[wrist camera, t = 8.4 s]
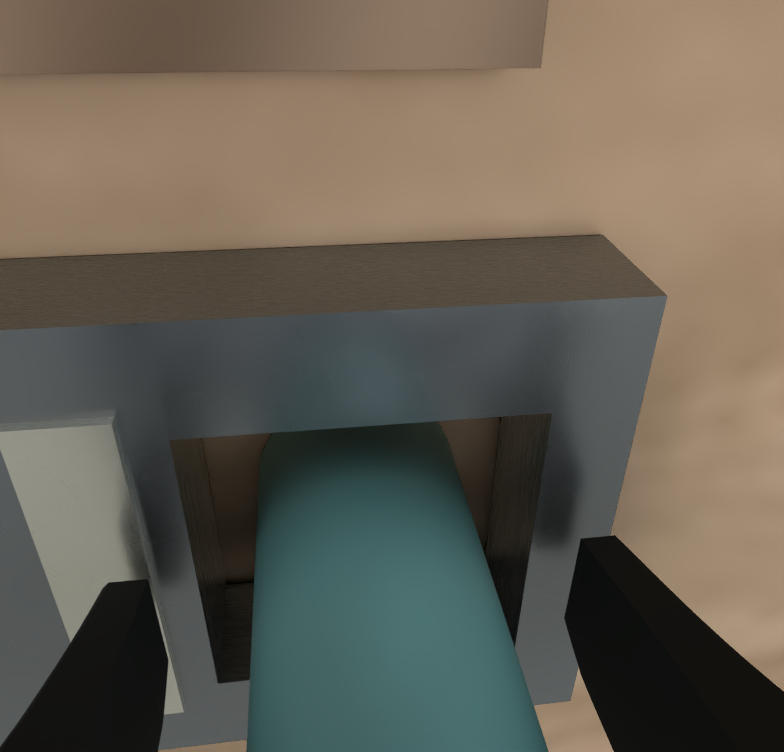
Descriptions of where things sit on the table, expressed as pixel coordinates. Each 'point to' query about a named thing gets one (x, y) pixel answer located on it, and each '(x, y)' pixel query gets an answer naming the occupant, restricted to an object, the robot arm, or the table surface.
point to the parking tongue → (268, 35)
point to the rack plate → (298, 427)
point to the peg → (377, 603)
